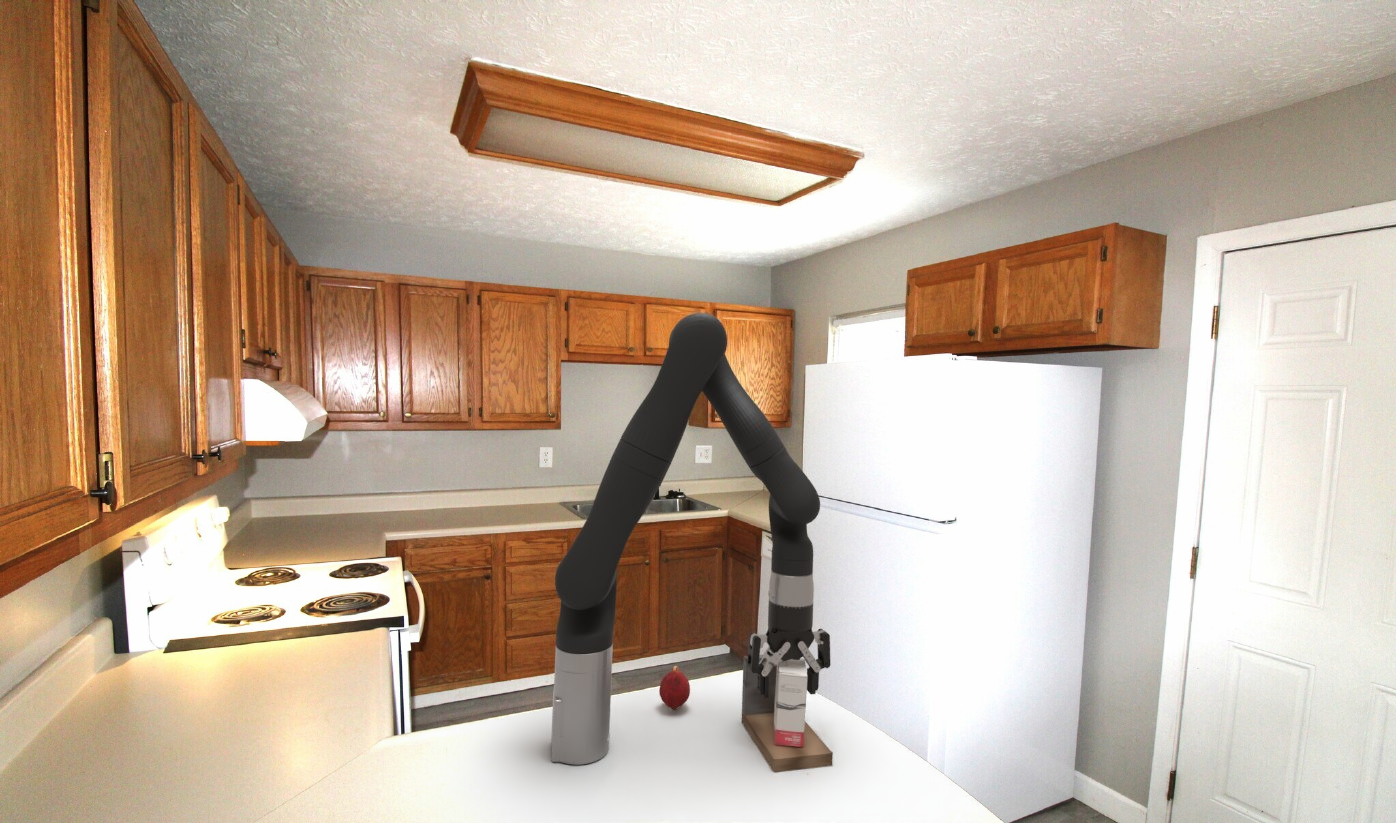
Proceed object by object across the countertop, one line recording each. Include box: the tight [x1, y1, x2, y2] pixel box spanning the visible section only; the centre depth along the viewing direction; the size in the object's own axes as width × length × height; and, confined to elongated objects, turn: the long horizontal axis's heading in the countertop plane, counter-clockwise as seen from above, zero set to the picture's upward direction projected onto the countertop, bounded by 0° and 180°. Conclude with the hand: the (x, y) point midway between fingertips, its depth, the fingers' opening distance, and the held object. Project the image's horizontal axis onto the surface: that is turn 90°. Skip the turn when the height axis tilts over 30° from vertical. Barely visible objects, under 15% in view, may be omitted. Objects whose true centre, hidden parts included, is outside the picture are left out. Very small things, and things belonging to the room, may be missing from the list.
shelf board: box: [740, 654, 834, 773], centre depth 104 cm, size 10×16×12 cm, turn 14°
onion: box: [658, 665, 691, 711], centre depth 115 cm, size 6×6×8 cm
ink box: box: [774, 657, 808, 747], centre depth 103 cm, size 9×5×12 cm, turn 174°
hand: (787, 694), depth 103 cm, fingers open, 8 cm apart
